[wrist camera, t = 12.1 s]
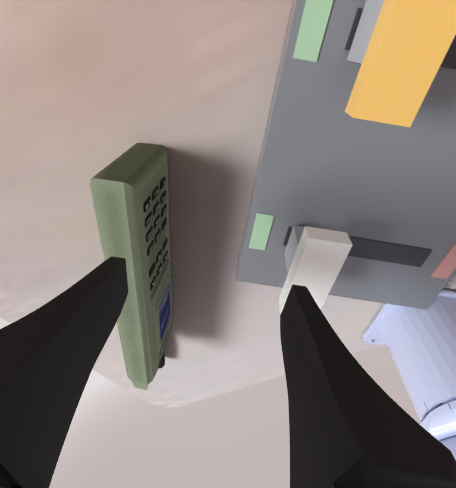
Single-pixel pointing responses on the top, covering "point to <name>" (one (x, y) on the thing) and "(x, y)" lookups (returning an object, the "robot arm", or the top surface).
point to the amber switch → (398, 57)
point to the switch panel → (353, 170)
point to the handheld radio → (139, 252)
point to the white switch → (314, 261)
